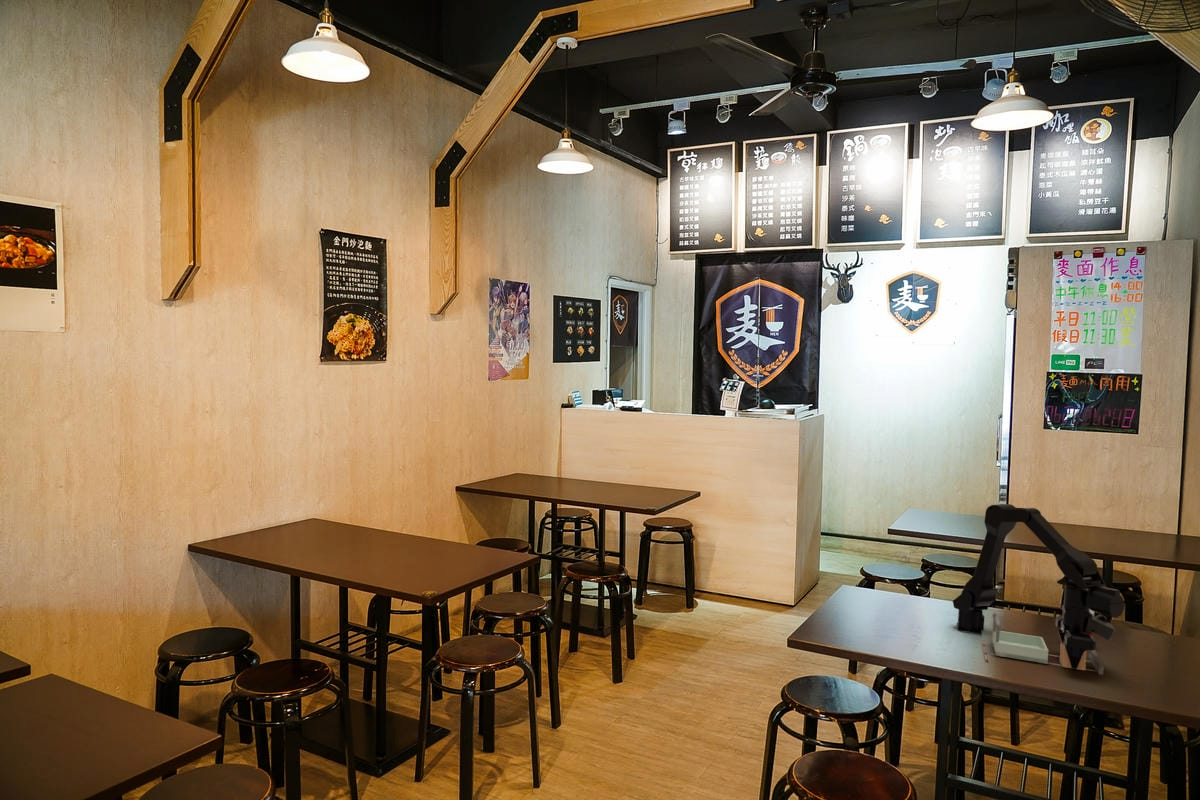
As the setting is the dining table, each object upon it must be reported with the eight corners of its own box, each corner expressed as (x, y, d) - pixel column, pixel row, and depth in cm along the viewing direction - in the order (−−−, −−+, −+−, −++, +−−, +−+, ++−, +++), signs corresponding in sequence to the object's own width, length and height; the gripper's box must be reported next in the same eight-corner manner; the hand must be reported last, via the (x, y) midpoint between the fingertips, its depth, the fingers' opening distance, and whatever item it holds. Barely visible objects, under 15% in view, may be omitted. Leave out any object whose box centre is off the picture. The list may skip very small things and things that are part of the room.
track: (985, 662, 204) (986, 648, 204) (981, 642, 219) (982, 629, 219) (1105, 682, 194) (1106, 667, 194) (1092, 660, 209) (1093, 646, 209)
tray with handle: (994, 656, 206) (996, 624, 205) (990, 643, 216) (992, 612, 215) (1047, 665, 201) (1049, 632, 201) (1041, 651, 211) (1043, 619, 211)
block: (1062, 666, 200) (1063, 647, 200) (1059, 662, 204) (1060, 643, 204) (1085, 670, 198) (1086, 650, 198) (1081, 665, 202) (1082, 646, 203)
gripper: (1122, 621, 189) (1117, 684, 189) (1105, 600, 206) (1100, 658, 207) (1069, 613, 193) (1064, 675, 194) (1057, 593, 210) (1053, 650, 211)
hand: (1072, 664), depth 201 cm, fingers closed on block, 5 cm apart
